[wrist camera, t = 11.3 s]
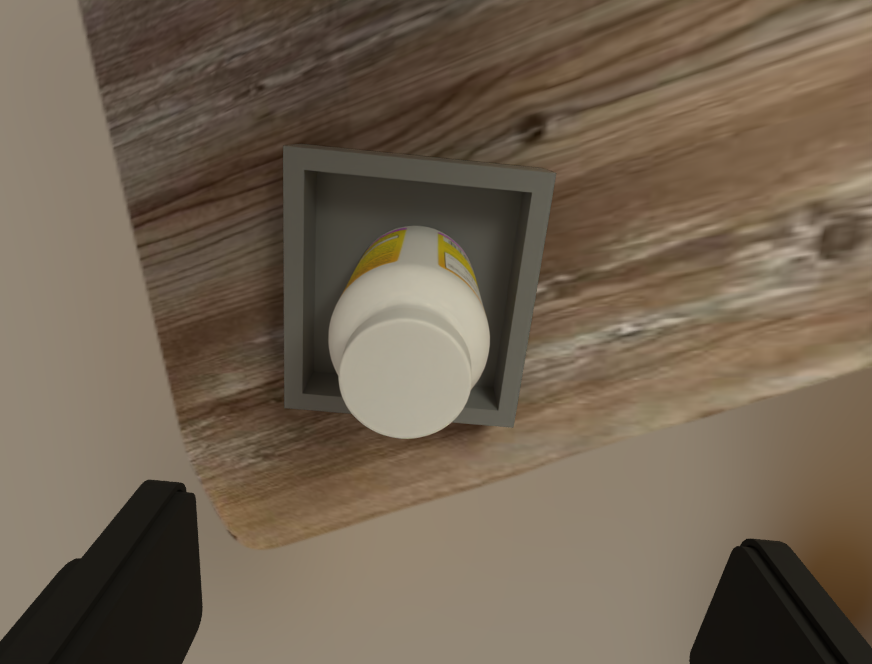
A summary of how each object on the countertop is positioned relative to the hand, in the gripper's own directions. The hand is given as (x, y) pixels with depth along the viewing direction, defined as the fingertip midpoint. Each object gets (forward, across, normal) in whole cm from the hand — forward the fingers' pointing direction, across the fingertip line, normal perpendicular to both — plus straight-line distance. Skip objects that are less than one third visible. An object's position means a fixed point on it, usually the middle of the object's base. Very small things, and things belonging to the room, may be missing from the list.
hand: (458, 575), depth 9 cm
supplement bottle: (+22, +2, +2) cm, 23 cm away
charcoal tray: (+23, +2, +2) cm, 23 cm away
